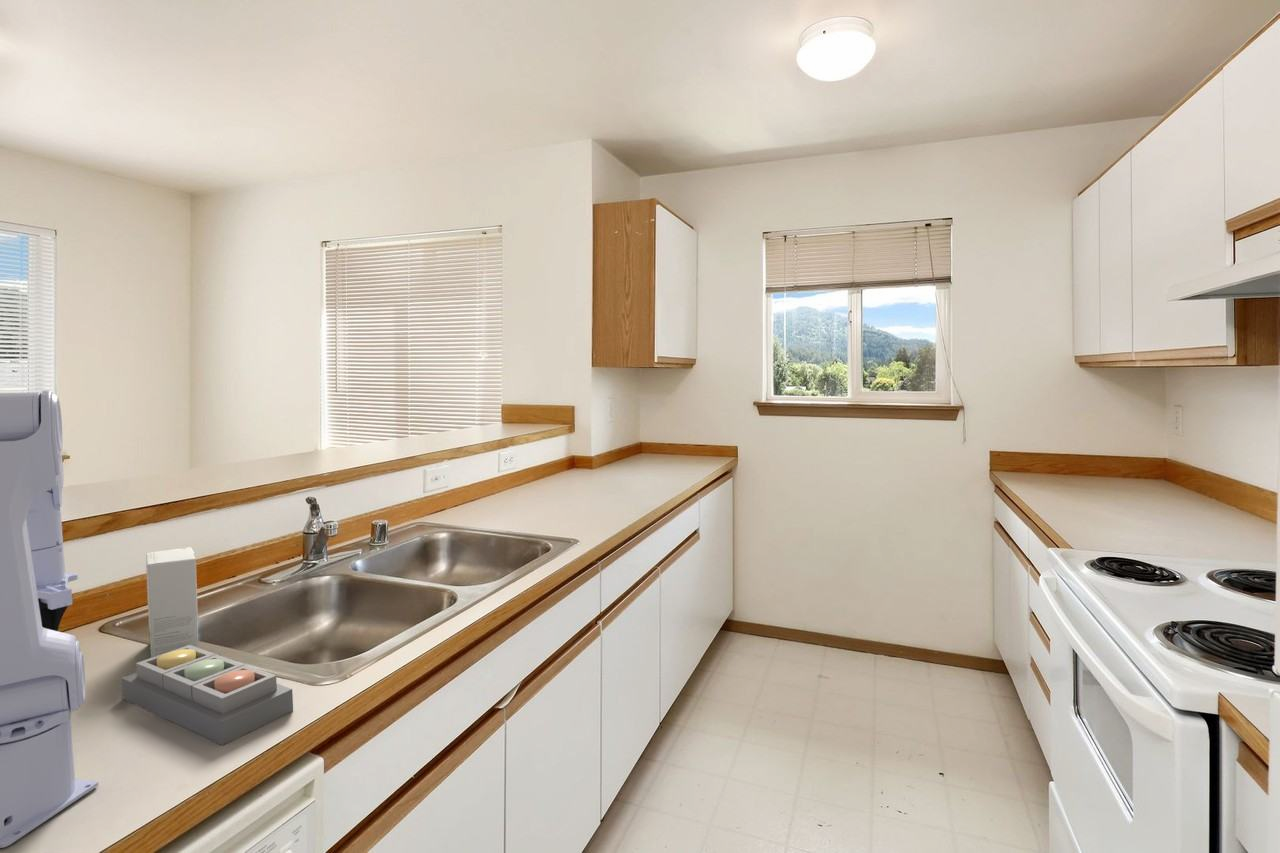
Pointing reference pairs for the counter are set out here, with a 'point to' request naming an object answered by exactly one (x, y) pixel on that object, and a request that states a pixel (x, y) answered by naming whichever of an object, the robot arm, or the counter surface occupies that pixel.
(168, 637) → the skincare box
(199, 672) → the sage button
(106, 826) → the counter surface
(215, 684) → the salmon pink button
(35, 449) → the robot arm
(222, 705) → the button panel
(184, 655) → the yellow rounded piece
